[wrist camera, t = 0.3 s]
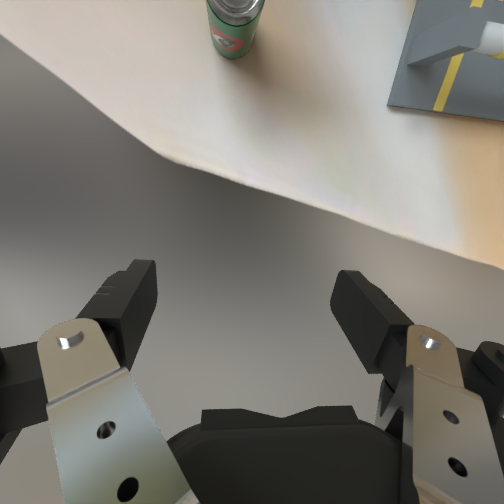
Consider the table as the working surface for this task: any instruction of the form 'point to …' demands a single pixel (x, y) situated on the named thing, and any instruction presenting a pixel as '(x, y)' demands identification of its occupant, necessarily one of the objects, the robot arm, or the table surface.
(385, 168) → the table surface
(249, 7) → the soda can
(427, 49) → the rail stand
